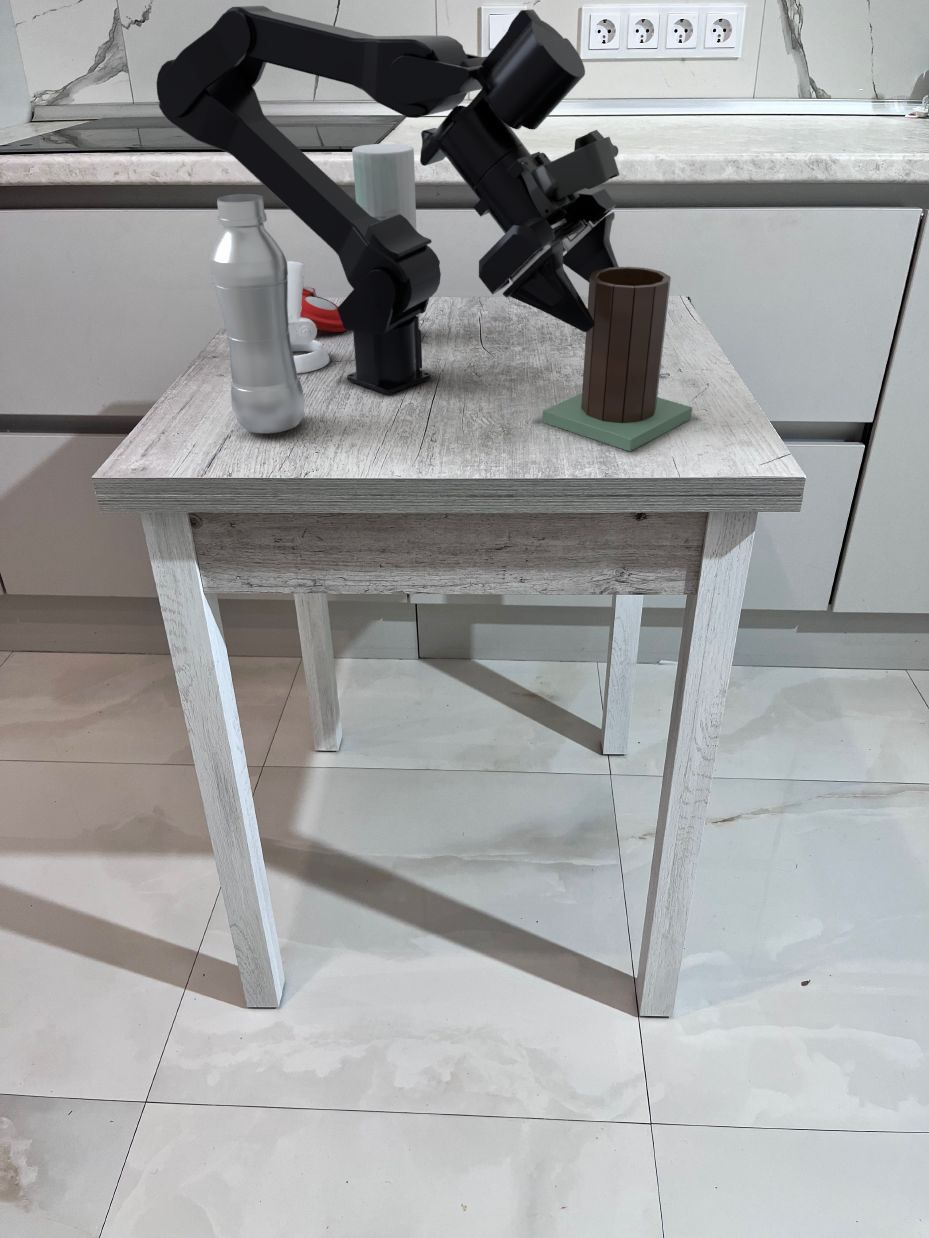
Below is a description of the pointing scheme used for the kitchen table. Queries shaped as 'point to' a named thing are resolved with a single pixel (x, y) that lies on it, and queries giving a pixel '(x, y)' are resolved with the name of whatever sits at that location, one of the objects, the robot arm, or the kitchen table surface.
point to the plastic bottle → (255, 317)
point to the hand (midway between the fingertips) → (608, 314)
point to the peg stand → (615, 433)
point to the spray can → (385, 181)
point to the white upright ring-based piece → (302, 325)
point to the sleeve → (624, 343)
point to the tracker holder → (320, 311)
